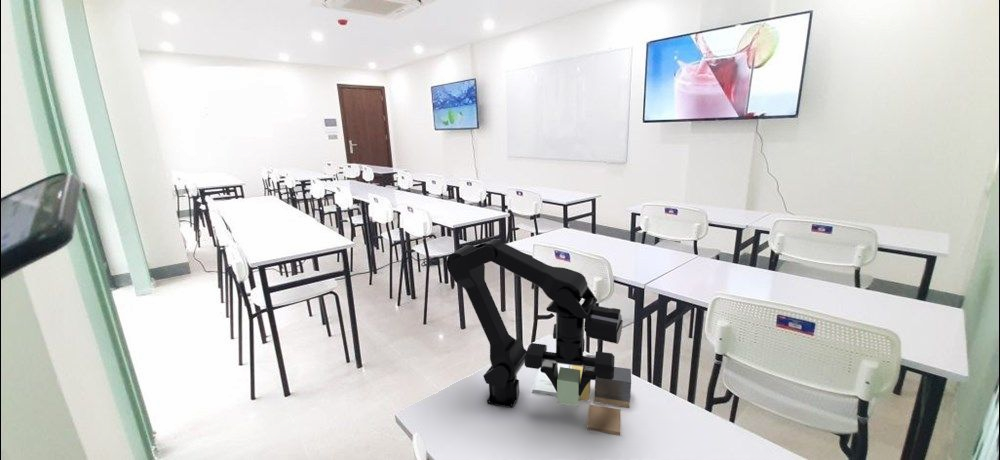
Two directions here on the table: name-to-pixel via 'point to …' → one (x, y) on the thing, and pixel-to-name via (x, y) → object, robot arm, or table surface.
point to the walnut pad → (604, 419)
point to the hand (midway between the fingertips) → (568, 392)
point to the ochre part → (586, 390)
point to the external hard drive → (545, 382)
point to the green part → (568, 386)
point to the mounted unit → (614, 388)
